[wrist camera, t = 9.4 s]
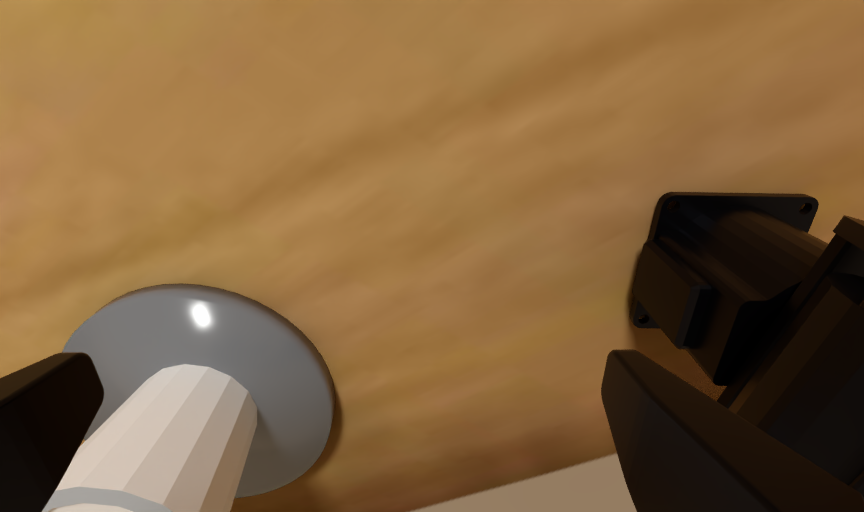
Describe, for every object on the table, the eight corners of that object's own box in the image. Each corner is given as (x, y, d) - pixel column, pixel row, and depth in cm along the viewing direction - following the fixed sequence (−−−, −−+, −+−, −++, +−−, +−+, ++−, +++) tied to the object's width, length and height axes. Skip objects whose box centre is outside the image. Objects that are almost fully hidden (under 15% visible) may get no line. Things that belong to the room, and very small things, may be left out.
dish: (324, 285, 21) (318, 299, 20) (343, 479, 27) (339, 498, 25) (35, 281, 21) (14, 295, 20) (116, 479, 26) (103, 498, 25)
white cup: (298, 406, 22) (248, 551, 16) (222, 477, 25) (152, 629, 18) (172, 327, 20) (58, 458, 14) (101, 412, 22) (-25, 559, 16)
